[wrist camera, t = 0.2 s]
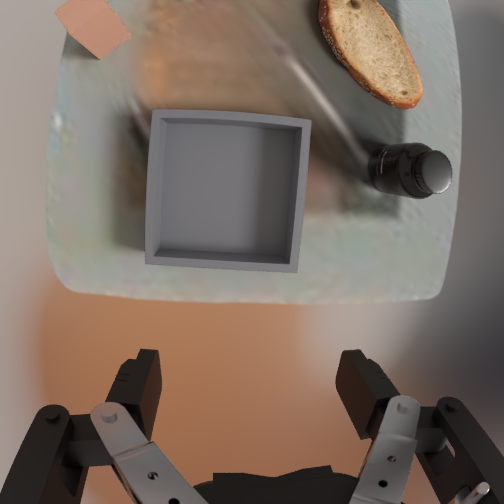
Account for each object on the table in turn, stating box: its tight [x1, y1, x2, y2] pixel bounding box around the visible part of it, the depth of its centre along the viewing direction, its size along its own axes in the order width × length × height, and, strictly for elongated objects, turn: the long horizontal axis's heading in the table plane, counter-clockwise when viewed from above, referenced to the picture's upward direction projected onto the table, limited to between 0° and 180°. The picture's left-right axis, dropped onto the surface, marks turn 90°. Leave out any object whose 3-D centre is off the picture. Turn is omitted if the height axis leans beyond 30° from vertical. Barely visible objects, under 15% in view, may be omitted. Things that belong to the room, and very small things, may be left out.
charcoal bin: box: [145, 109, 311, 273], centre depth 36 cm, size 18×18×5 cm
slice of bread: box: [318, 0, 423, 109], centre depth 34 cm, size 18×18×4 cm
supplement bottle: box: [368, 143, 453, 199], centre depth 34 cm, size 7×7×12 cm
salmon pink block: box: [55, 0, 132, 60], centre depth 27 cm, size 6×6×10 cm
